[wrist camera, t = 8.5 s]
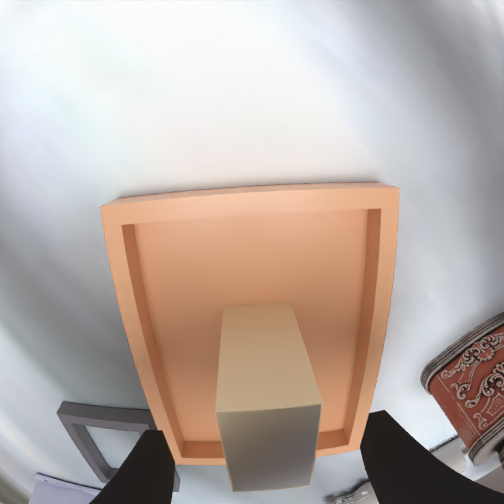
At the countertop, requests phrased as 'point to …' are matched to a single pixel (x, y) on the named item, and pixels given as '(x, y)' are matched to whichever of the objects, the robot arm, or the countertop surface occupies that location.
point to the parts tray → (254, 294)
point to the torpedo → (449, 453)
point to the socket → (107, 418)
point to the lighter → (473, 389)
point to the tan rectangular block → (266, 399)
